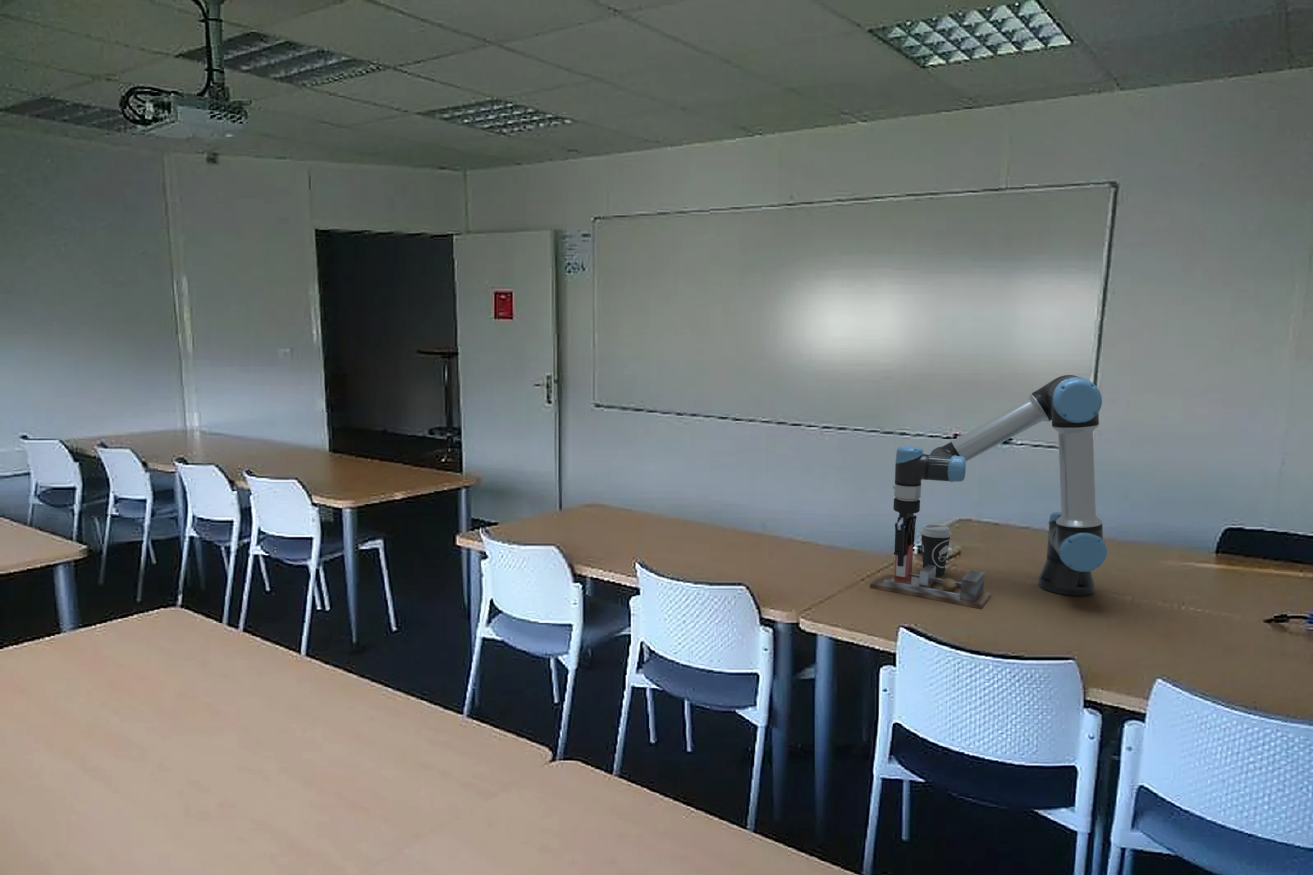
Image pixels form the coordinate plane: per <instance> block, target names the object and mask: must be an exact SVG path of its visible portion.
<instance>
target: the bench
mask: <svg viewBox="0 0 1313 875" xmlns="http://www.w3.org/2000/svg"><path fill="white" fill-rule="evenodd" d="M912 577H918V578H920V574H917V573H912ZM893 578H894V574H889V573H882V574H881V575H879V576H878V577H877V578H875V579H874V580H873V581H872V582H870V584H869V588H871V589H877V590H881V591H887V592H891V593H892V592H893V593H897V594H902V595H907V596H912V597H918V598H923V599H927V600H933V601H937V602H944V603H949V604H952V605H954V604H955V605H960V606H965V607H970V608H974V609H975V608H976V609H980V610H982V609H983V607H985V605H986V604H987V602H988V601H989V600H990V598H992V592H988V591H984V583H985V572H981V571H977V570H968V572H967V573H966V574H965V575H964V576H963V577H962V578H961V580H960V581H956V580H954V581H955V582H956V589H955V590H954V591H952V592H947V591H945V590H944V589H943V588H942V582H943V580H945V579H946V578H945V579H944V578H939V577H935V584H934V585H933V586H932V587H931V588H926V587H920V586H915V585H910V584H904V583H899V582H893V581H891V580H892V579H893Z"/></svg>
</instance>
